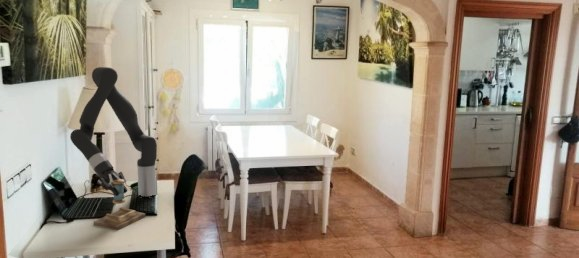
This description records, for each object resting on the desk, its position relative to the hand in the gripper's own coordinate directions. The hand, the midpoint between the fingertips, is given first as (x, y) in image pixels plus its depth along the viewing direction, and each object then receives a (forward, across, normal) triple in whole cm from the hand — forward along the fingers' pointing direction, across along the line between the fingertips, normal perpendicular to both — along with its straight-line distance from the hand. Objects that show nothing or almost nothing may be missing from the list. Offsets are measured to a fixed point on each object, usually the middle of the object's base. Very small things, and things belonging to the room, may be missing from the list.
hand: (121, 193), depth 207 cm
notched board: (+8, 0, +11) cm, 14 cm away
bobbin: (+2, 0, +4) cm, 5 cm away
